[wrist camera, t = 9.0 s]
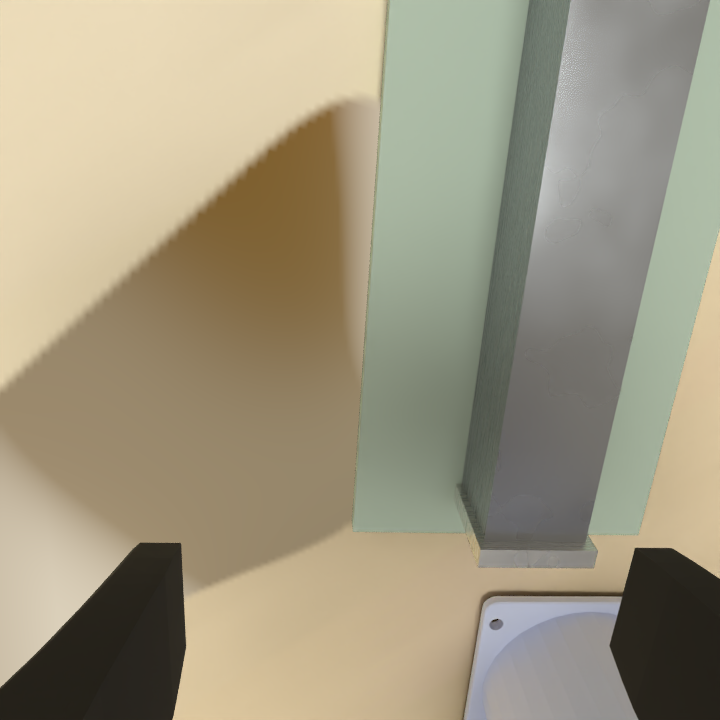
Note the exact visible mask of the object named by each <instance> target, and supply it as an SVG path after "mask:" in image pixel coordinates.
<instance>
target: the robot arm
mask: <svg viewBox="0 0 720 720" xmlns="http://www.w3.org/2000/svg"><path fill="white" fill-rule="evenodd" d="M494 619H499V620H497V621H496V622H491V621H492V620H494ZM185 650H186V637H185V616H184V595H183V575H182V554H181V543H139V544H138V545H137V546H136V547H135V548H134V549H133V550H132V551H131V552H130V553H129V554H128V555H127V556H126V557H125V559H124V560H123V561H122V562H121V563H120V565H119V566H118V567H117V568H116V569H115V570H114V571H113V572H112V573H111V575H110V576H109V577H108V578H107V579H106V580H105V581H104V582H103V583H102V585H101V586H100V587H99V588H98V589H97V590H96V591H95V592H94V594H93V595H92V596H91V597H90V598H89V599H88V600H87V601H86V602H85V603H84V604H83V605H82V607H81V608H80V609H79V610H78V611H77V612H76V613H75V614H74V615H73V616H72V617H71V618H70V619H69V620H68V621H67V622H66V623H65V624H64V625H63V626H62V627H61V629H59V630H58V632H57V633H56V634H55V635H54V636H53V637H52V638H51V639H50V640H49V641H48V642H47V643H46V644H45V645H44V646H43V647H42V648H41V649H40V650H39V651H38V652H37V653H36V654H35V655H34V656H33V657H32V658H31V659H30V660H29V661H28V662H27V663H26V664H25V665H24V666H23V667H21V668H20V669H19V670H18V671H17V672H16V673H15V674H14V675H13V676H12V677H11V678H10V679H9V680H8V681H7V682H6V683H5V684H4V685H3V686H1V688H0V720H172V719H173V715H174V710H175V705H176V700H177V694H178V689H179V684H180V678H181V672H182V667H183V661H184V655H185ZM464 720H720V579H719V578H717V577H716V576H714V575H713V574H711V573H710V572H709V571H707V570H706V569H704V568H702V567H701V566H699V565H698V564H696V563H695V562H693V561H692V560H690V559H689V558H687V557H685V556H684V555H682V554H680V553H679V552H677V551H675V550H674V549H672V548H635V551H634V555H633V558H632V562H631V566H630V570H629V573H628V577H627V581H626V585H625V588H624V592H623V596H622V597H618V596H494V597H491V598H489V599H487V600H486V601H485V602H484V604H483V606H482V612H481V618H480V624H479V630H478V636H477V642H476V648H475V654H474V660H473V666H472V672H471V678H470V684H469V690H468V696H467V702H466V708H465V714H464Z"/></svg>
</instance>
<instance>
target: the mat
mask: <svg viewBox="0 0 720 720" xmlns="http://www.w3.org/2000/svg"><path fill="white" fill-rule="evenodd" d="M528 5H529V0H388V4H387V19H386V33H385V48H384V62H383V77H382V92H381V106H380V121H379V135H378V150H377V165H376V179H375V194H374V208H373V223H372V239H371V253H370V268H369V281H368V296H367V311H366V326H365V339H364V354H363V368H362V383H361V397H360V398H361V399H360V412H359V426H358V442H357V456H356V470H355V471H356V472H355V485H354V499H353V514H352V527H353V532H413V533H466V532H465V530H464V527H463V524H462V521H461V518H460V516H459V513H458V510H457V507H456V504H455V501H454V493H455V486H456V484H462V478H463V471H464V464H465V457H466V450H467V442H468V435H469V428H470V421H471V414H472V407H473V399H474V392H475V385H476V378H477V371H478V364H479V356H480V349H481V342H482V335H483V328H484V321H485V313H486V306H487V299H488V292H489V285H490V278H491V270H492V263H493V256H494V249H495V242H496V235H497V227H498V220H499V213H500V206H501V199H502V192H503V184H504V177H505V170H506V163H507V156H508V149H509V141H510V134H511V127H512V120H513V113H514V105H515V98H516V91H517V84H518V77H519V70H520V62H521V55H522V48H523V41H524V34H525V27H526V19H527V12H528ZM719 229H720V0H710V4H709V8H708V13H707V17H706V21H705V26H704V30H703V34H702V39H701V43H700V47H699V52H698V56H697V60H696V65H695V69H694V73H693V78H692V82H691V86H690V91H689V95H688V100H687V104H686V108H685V113H684V117H683V121H682V126H681V130H680V134H679V139H678V143H677V147H676V152H675V156H674V160H673V165H672V169H671V173H670V178H669V182H668V186H667V191H666V195H665V199H664V204H663V208H662V212H661V217H660V221H659V225H658V230H657V234H656V238H655V243H654V247H653V252H652V256H651V260H650V265H649V269H648V273H647V278H646V282H645V286H644V291H643V295H642V299H641V304H640V308H639V312H638V317H637V321H636V325H635V330H634V334H633V338H632V343H631V347H630V351H629V356H628V360H627V364H626V369H625V373H624V377H623V382H622V386H621V391H620V395H619V399H618V404H617V408H616V412H615V417H614V421H613V425H612V430H611V434H610V438H609V443H608V447H607V451H606V456H605V460H604V464H603V469H602V473H601V477H600V482H599V486H598V490H597V495H596V499H595V503H594V508H593V512H592V516H591V521H590V525H589V529H588V534H587V535H638V534H639V530H640V527H641V523H642V519H643V515H644V511H645V508H646V504H647V500H648V496H649V493H650V489H651V485H652V481H653V478H654V474H655V470H656V466H657V462H658V459H659V455H660V451H661V447H662V444H663V440H664V436H665V432H666V428H667V425H668V421H669V417H670V413H671V410H672V406H673V402H674V398H675V395H676V391H677V387H678V383H679V379H680V376H681V372H682V368H683V364H684V361H685V357H686V353H687V349H688V346H689V342H690V338H691V334H692V330H693V327H694V323H695V319H696V315H697V312H698V308H699V304H700V300H701V296H702V293H703V289H704V285H705V281H706V278H707V274H708V270H709V266H710V263H711V259H712V255H713V251H714V247H715V244H716V240H717V236H718V232H719Z"/></svg>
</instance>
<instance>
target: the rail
mask: <svg viewBox="0 0 720 720" xmlns="http://www.w3.org/2000/svg"><path fill="white" fill-rule="evenodd" d="M709 4H710V0H529V5H528V12H527V19H526V27H525V34H524V41H523V48H522V55H521V62H520V70H519V77H518V84H517V91H516V98H515V105H514V113H513V120H512V127H511V134H510V141H509V149H508V156H507V163H506V170H505V177H504V184H503V192H502V199H501V206H500V213H499V220H498V227H497V235H496V242H495V249H494V256H493V263H492V270H491V278H490V285H489V292H488V299H487V306H486V313H485V321H484V328H483V335H482V342H481V349H480V356H479V364H478V371H477V378H476V385H475V392H474V399H473V407H472V414H471V421H470V428H469V435H468V442H467V450H466V457H465V464H464V471H463V478H462V484H456V486H455V493H454V501H455V504H456V507H457V510H458V513H459V516H460V518H461V521H462V524H463V527H464V530H465V532H466V535H467V538H468V541H469V544H470V547H471V549H472V552H473V555H474V558H475V561H476V563H477V566H478V567H498V568H594V565H595V561H596V557H597V553H598V550H597V549H596V547H595V546H594V544H593V543H592V541H591V539H590V538H589V536H588V535H587V534H588V529H589V525H590V521H591V516H592V512H593V508H594V503H595V499H596V495H597V490H598V486H599V482H600V477H601V473H602V469H603V464H604V460H605V456H606V451H607V447H608V443H609V438H610V434H611V430H612V425H613V421H614V417H615V412H616V408H617V404H618V399H619V395H620V391H621V386H622V382H623V377H624V373H625V369H626V364H627V360H628V356H629V351H630V347H631V343H632V338H633V334H634V330H635V325H636V321H637V317H638V312H639V308H640V304H641V299H642V295H643V291H644V286H645V282H646V278H647V273H648V269H649V265H650V260H651V256H652V252H653V247H654V243H655V238H656V234H657V230H658V225H659V221H660V217H661V212H662V208H663V204H664V199H665V195H666V191H667V186H668V182H669V178H670V173H671V169H672V165H673V160H674V156H675V152H676V147H677V143H678V139H679V134H680V130H681V126H682V121H683V117H684V113H685V108H686V104H687V100H688V95H689V91H690V86H691V82H692V78H693V73H694V69H695V65H696V60H697V56H698V52H699V47H700V43H701V39H702V34H703V30H704V26H705V21H706V17H707V13H708V8H709Z"/></svg>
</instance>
